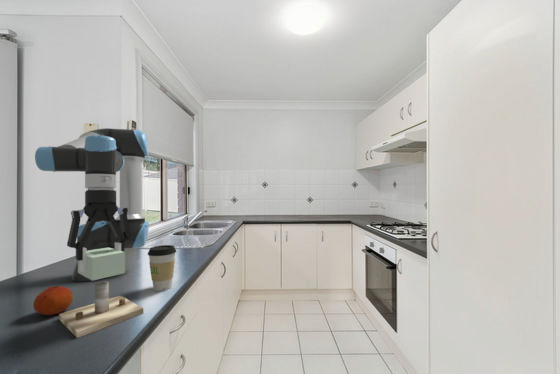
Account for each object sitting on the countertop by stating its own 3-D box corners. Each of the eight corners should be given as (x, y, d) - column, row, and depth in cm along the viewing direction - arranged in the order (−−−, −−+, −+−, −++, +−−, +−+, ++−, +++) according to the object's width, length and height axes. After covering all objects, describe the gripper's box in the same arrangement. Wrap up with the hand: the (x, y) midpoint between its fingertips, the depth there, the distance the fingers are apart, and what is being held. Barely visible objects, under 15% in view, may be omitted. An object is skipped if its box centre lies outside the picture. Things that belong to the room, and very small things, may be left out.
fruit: (80, 307, 82) (80, 281, 82) (49, 321, 73) (49, 292, 73) (58, 305, 84) (58, 280, 84) (26, 318, 75) (26, 290, 75)
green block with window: (125, 273, 75) (125, 252, 75) (92, 280, 69) (92, 257, 69) (108, 266, 83) (108, 247, 83) (77, 272, 76) (77, 252, 76)
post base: (59, 319, 74) (58, 285, 74) (120, 300, 87) (120, 271, 87) (77, 338, 65) (76, 299, 65) (143, 313, 77) (143, 281, 77)
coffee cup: (154, 283, 102) (153, 245, 102) (180, 282, 103) (179, 244, 103) (143, 293, 92) (142, 251, 92) (171, 292, 93) (171, 250, 93)
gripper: (58, 189, 66) (59, 280, 65) (143, 189, 82) (144, 261, 82) (51, 189, 70) (51, 274, 70) (133, 189, 87) (133, 258, 86)
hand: (101, 267), depth 76 cm, fingers closed on green block with window, 8 cm apart
